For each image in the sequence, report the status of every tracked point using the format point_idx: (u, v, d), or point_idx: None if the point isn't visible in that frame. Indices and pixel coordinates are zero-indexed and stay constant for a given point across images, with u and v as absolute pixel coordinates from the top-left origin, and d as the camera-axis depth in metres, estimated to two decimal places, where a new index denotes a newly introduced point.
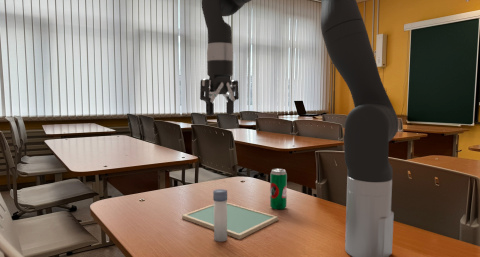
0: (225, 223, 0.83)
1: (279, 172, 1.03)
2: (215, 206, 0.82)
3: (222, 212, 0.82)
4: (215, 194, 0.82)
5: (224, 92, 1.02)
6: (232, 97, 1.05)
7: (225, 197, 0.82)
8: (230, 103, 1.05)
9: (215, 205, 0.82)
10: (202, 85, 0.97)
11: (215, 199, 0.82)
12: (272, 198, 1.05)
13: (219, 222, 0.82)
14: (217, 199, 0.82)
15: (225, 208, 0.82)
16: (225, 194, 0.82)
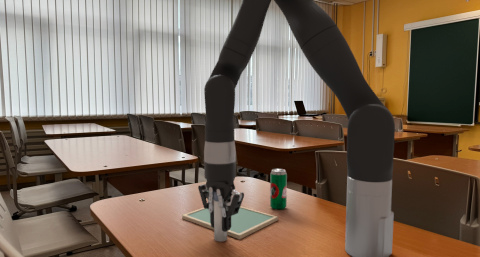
0: None
1: (279, 172, 1.03)
2: (215, 206, 0.82)
3: None
4: (215, 194, 0.82)
5: None
6: None
7: None
8: None
9: (215, 205, 0.82)
10: (237, 202, 0.79)
11: (215, 199, 0.82)
12: (272, 198, 1.05)
13: (219, 222, 0.82)
14: (217, 199, 0.82)
15: None
16: None
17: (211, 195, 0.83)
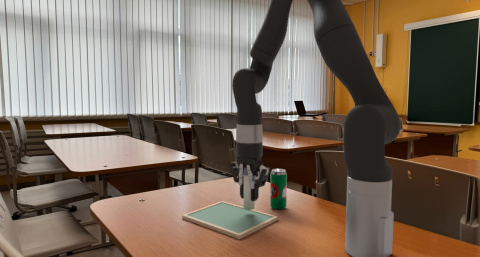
0: None
1: (279, 172, 1.03)
2: (245, 180, 0.97)
3: None
4: (245, 169, 0.96)
5: None
6: None
7: None
8: None
9: (245, 179, 0.97)
10: (265, 175, 0.94)
11: (245, 174, 0.96)
12: (272, 198, 1.05)
13: (248, 193, 0.97)
14: (247, 173, 0.96)
15: None
16: None
17: (241, 170, 0.97)
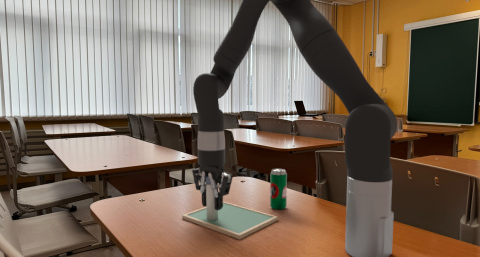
0: None
1: (279, 172, 1.03)
2: (207, 189, 0.94)
3: (213, 194, 0.94)
4: (207, 178, 0.93)
5: None
6: None
7: None
8: None
9: (207, 188, 0.94)
10: (227, 182, 0.90)
11: (207, 183, 0.94)
12: (272, 198, 1.05)
13: (210, 203, 0.94)
14: (209, 183, 0.93)
15: None
16: None
17: (203, 178, 0.94)
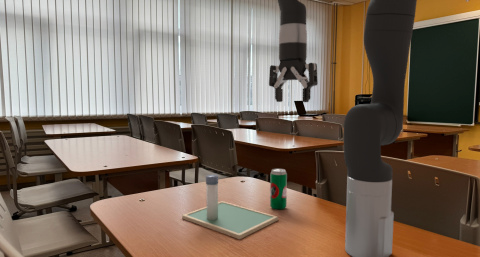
0: (216, 204, 0.94)
1: (279, 172, 1.03)
2: (207, 189, 0.94)
3: (214, 194, 0.94)
4: (207, 178, 0.93)
5: None
6: None
7: (216, 181, 0.94)
8: (281, 90, 0.98)
9: (207, 188, 0.94)
10: (314, 69, 0.90)
11: (207, 183, 0.94)
12: (272, 198, 1.05)
13: (210, 203, 0.94)
14: (209, 183, 0.93)
15: (216, 191, 0.94)
16: (216, 178, 0.94)
17: (283, 74, 0.95)
